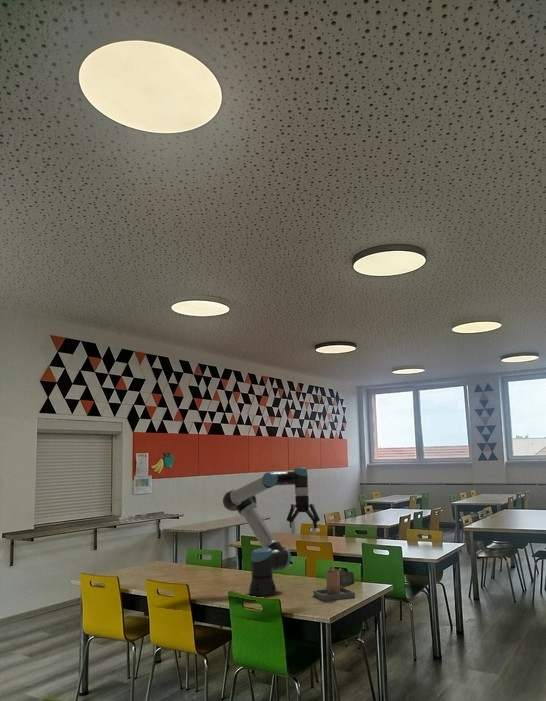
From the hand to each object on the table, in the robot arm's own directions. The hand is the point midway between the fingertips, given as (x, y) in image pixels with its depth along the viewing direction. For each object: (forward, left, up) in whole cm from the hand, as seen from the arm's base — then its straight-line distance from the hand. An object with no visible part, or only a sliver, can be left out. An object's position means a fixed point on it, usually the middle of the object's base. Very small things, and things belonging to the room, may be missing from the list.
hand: (303, 534), depth 313 cm
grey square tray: (+15, +10, -31) cm, 36 cm away
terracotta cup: (+15, +10, -30) cm, 35 cm away
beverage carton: (-13, +26, -31) cm, 43 cm away
